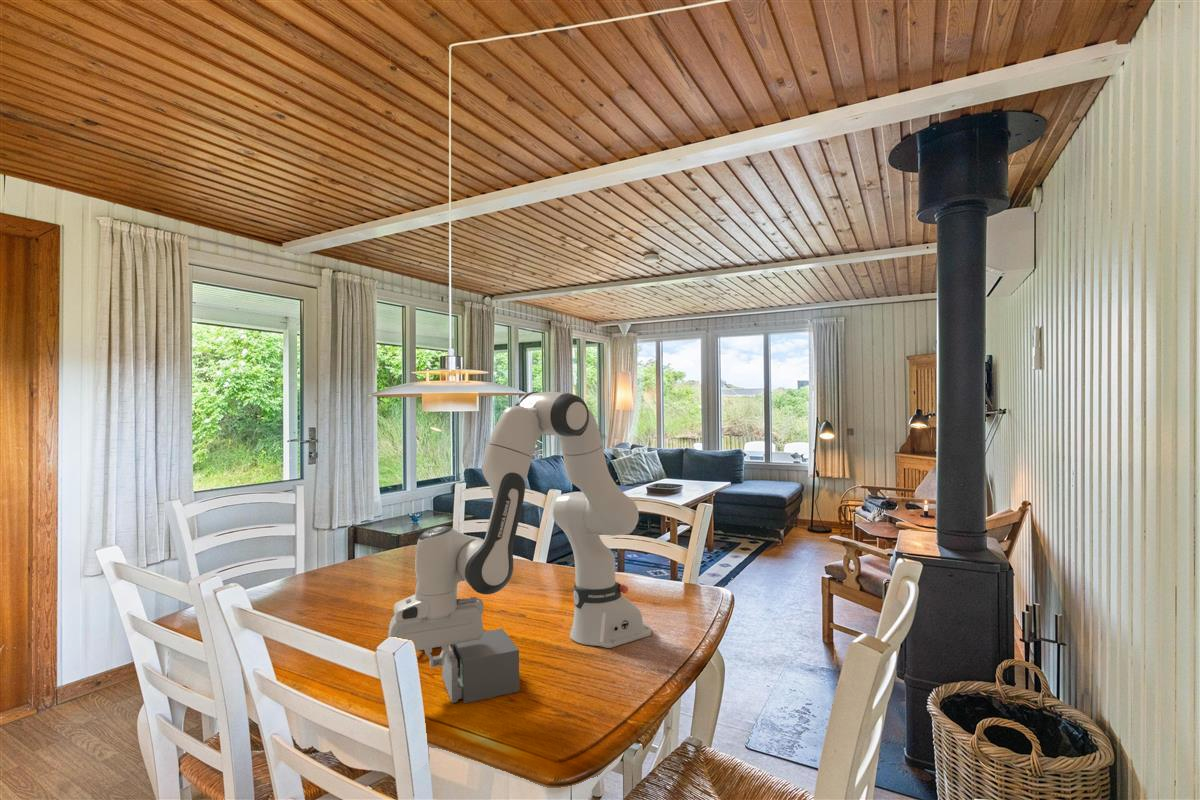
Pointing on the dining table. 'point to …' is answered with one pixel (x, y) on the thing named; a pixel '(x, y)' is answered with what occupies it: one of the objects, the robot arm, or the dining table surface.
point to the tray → (452, 676)
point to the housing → (488, 666)
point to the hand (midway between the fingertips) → (436, 665)
